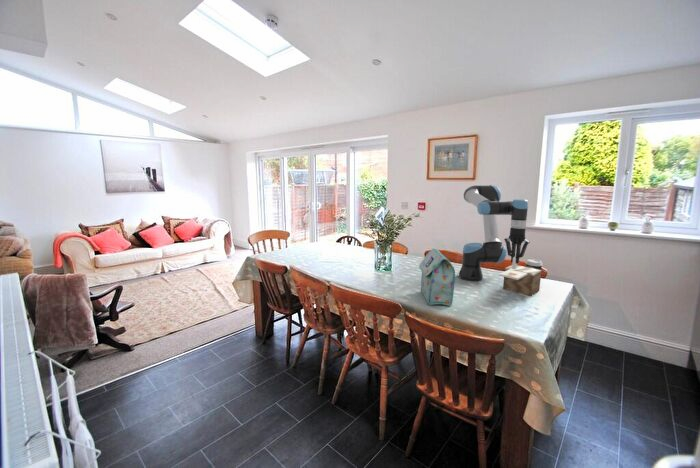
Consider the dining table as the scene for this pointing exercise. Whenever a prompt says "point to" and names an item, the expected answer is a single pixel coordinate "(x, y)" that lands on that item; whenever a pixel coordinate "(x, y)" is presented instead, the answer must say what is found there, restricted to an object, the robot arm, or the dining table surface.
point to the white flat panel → (513, 274)
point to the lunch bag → (437, 278)
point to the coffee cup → (534, 264)
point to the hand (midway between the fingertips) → (514, 268)
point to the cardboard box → (524, 281)
